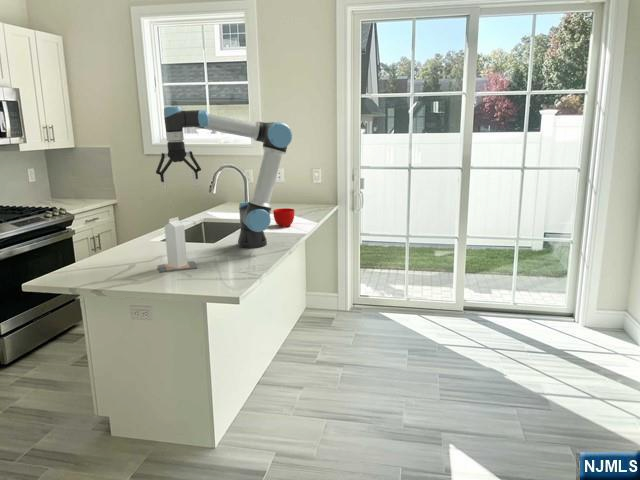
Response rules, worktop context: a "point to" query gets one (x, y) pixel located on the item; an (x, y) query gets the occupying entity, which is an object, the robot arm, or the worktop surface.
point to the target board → (168, 269)
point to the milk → (175, 243)
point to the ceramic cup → (284, 216)
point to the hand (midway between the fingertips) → (180, 187)
